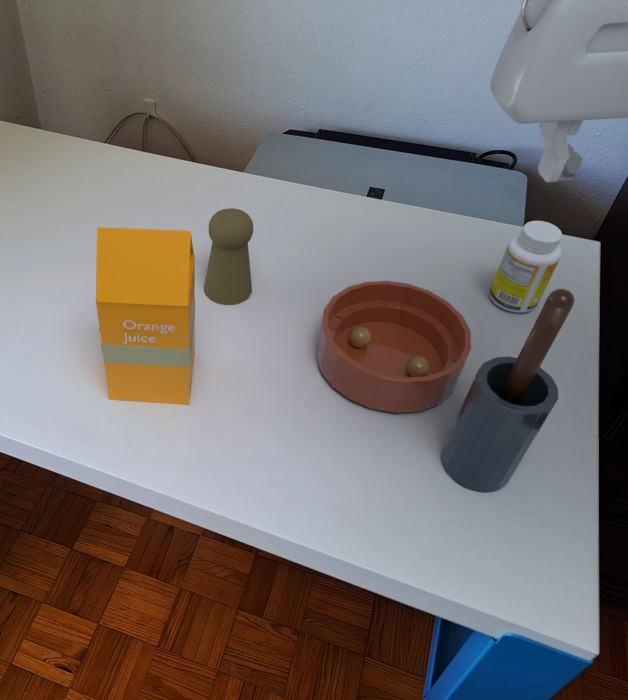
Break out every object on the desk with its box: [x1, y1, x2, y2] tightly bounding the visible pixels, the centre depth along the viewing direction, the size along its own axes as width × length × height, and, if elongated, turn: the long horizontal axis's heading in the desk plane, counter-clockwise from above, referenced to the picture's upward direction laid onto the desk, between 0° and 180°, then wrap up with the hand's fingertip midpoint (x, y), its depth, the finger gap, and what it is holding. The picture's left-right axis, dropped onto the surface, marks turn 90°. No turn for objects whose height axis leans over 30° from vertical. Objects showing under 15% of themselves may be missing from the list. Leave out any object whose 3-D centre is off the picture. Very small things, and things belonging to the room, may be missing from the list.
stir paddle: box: [498, 288, 576, 405], centre depth 59 cm, size 3×2×22 cm, turn 93°
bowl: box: [315, 280, 472, 414], centre depth 74 cm, size 15×15×6 cm
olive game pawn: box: [203, 207, 254, 306], centre depth 82 cm, size 6×6×11 cm
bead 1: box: [349, 326, 371, 348], centre depth 77 cm, size 2×2×2 cm
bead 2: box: [406, 356, 430, 377], centre depth 73 cm, size 2×2×2 cm
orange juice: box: [95, 226, 196, 406], centre depth 69 cm, size 8×9×20 cm
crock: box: [441, 356, 559, 493], centre depth 63 cm, size 6×6×12 cm
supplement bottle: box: [489, 220, 563, 314], centre depth 79 cm, size 6×6×10 cm
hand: (626, 172), depth 43 cm, fingers open, 8 cm apart
